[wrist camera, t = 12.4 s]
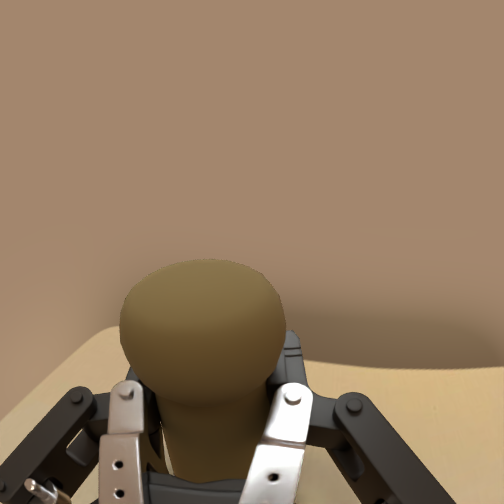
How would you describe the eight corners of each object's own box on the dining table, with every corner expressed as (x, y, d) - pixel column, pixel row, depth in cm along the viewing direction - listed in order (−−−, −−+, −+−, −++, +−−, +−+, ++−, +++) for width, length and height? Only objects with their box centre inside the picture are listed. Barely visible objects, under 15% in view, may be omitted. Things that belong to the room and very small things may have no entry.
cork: (282, 515, 9) (302, 356, 5) (158, 495, 10) (51, 324, 6) (291, 423, 15) (301, 241, 11) (189, 412, 16) (148, 240, 12)
